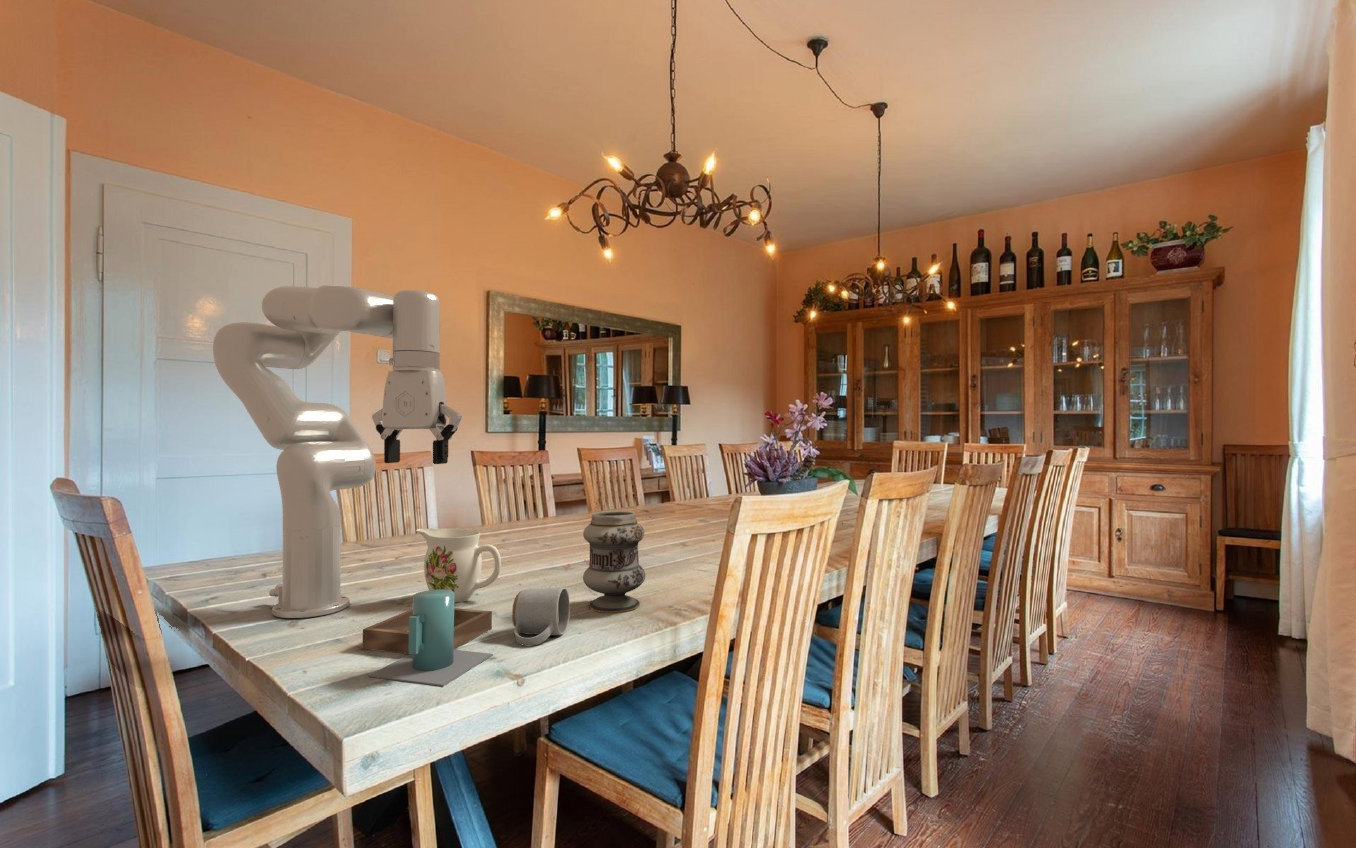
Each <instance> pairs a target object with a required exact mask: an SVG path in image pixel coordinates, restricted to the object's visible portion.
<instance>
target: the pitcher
mask: <svg viewBox="0 0 1356 848" xmlns="http://www.w3.org/2000/svg"><path fill="white" fill-rule="evenodd" d="M415 532H416V533H418V534H419V535H421V536H422V537H423V539H424V540H425V543H426V546H427V549H426V551H425V555H424V562H423V563H424V564H423V571H424V578H425V583H426V586H427V588H428V590H438V589H443V590H451V591H453V592H454V604H456V602H457V603H462V602H466V601H468V600H470V599H471V598H472V596H473V594H475V592H476V591H477V590H479V589H482V588H483V589H484V588H485V587H488V586H490V585H491V584H493V583H494V582H495V581H496V580H497V579H498V578H499V575H500V573H501V569H502V558H501V554H500V552H499V550H498V549H497V547H496V546H495V545H492V544H484V545H481V546H479V542H480V541H479V540H480V537H481V531H480V530H477V529H469V528H468V529H467V528H417V529H415ZM483 552H490V553H491V554H492V557H493V559H494V569H493V571H492V574H491V575H490V576H489V577H487V578H486V579H485V580H480V579H481V575H482V569H483V568H482V567H483V557H482V553H483Z"/></svg>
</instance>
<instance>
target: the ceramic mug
mask: <svg viewBox="0 0 1356 848" xmlns="http://www.w3.org/2000/svg"><path fill="white" fill-rule="evenodd" d="M570 604H571V602H570V595H569V591H568V589H567V588H566V587H564V586H557V587H556V586H555V587H544V588H543V587H542V588H528V589H524V590H520V591H519V592H517V594H516V596H515V598H514V601H513V603H512V610H511V611H512V612H511V618H512V624H513V627H514V629H513V630H514V632H513V633H514V637H515V640H516V642H517V643H518V644H519V645H521V644H523V645H522V646H525V645H533V646H537V645H539V644H542V643H544V642H545V641H546V640H547V639H548V638H549V637H550V636H563V635H564V634H565V633H566V632H567V629H568V625H569V622H570V614H571V613H570V612H571V611H570V609H571V607H570ZM520 633H521V634H526V635H535V636H533V637H522V636H521V635H519V634H520Z"/></svg>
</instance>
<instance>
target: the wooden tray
mask: <svg viewBox="0 0 1356 848" xmlns="http://www.w3.org/2000/svg"><path fill="white" fill-rule="evenodd" d="M410 616H413V608H411V609H409V610H407V611H405V612H402V613H399V614H396V615H394V616H392V617H389V618H386V619H385V620H382V621H380V622H377V623H375V624H373V625H369V626H368V627H364V628H363V629H362V649H364V650H370V651H378V652H379V651H381V652H388V653H397V654H405V655H406V654H407V655H409V654H410V653H409V617H410ZM492 619H493V611H492V610H491V611H490V610H480V609H472V608H471V609H470V608H469V609H468V608H458V607H454V650H458V648H460V647H462V646H464V645H466V644H467V643H469V642H471V641H473V640H474V638H475V639H476V638H478V637H480V636H482V635H483V633H484V634H485V633H487V632H489V631H491V630H492V629H493V620H492ZM488 630H489V631H488ZM470 640H471V641H470Z"/></svg>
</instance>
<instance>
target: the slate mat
mask: <svg viewBox="0 0 1356 848" xmlns="http://www.w3.org/2000/svg"><path fill="white" fill-rule="evenodd" d="M493 655H494V653H488V652H479V651H470V650H460V649H455V650H454V661H453V664H451V665H450V666H448V667H446V668H443V669H439V670H434V671H419V670H416V669H414V668H413V667H412V654H407V655H404V656H403V657H401V658H399V659H398V660H394V661H393V662H391V663H390V664H387V665H385V666H383V667H381V668H380V669H378V670H375V671H374V672H371V673H370V674H368V676H367V677H369V678H375V679H383V680H384V679H385V680H390V681H398V682H407V683H412V684H413V683H414V684H420V685H421V684H422V685H429V686H438V687H445V686H447V685H448V684H449V683H451V682H453V681H454V680H456V679H457V678H459V677H460V676H462V675H464V674H465V673H467V672H468V671H470V670H472V669H473V668H475V667H476V666H478V665H479V664H481V663H483V662H484V661H486V660H487V659H489V658H490V657H493Z"/></svg>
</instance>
